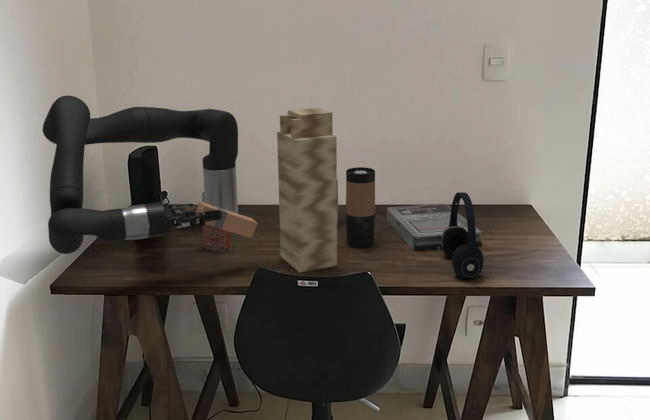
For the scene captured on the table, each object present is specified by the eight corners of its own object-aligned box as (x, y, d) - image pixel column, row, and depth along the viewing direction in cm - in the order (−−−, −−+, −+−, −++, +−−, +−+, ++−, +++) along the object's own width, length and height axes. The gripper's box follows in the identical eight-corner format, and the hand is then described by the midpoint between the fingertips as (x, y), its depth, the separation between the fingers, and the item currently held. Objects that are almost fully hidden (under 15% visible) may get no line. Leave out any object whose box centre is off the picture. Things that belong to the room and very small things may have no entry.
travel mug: (378, 241, 189) (379, 168, 183) (368, 250, 182) (369, 175, 177) (352, 237, 192) (352, 166, 186) (341, 246, 186) (341, 172, 180)
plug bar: (198, 221, 161) (204, 205, 160) (193, 217, 164) (199, 200, 164) (251, 238, 168) (257, 222, 167) (245, 233, 171) (252, 218, 171)
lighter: (234, 248, 185) (232, 212, 182) (228, 253, 181) (226, 216, 179) (207, 245, 187) (204, 209, 184) (200, 249, 184) (198, 213, 181)
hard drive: (414, 253, 181) (414, 236, 180) (385, 221, 207) (386, 207, 205) (481, 247, 185) (482, 231, 183) (445, 217, 210) (446, 203, 209)
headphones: (438, 252, 180) (441, 183, 175) (465, 252, 180) (468, 183, 175) (455, 283, 161) (458, 206, 156) (485, 282, 161) (489, 206, 156)
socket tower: (299, 272, 168) (296, 117, 157) (280, 256, 178) (276, 109, 168) (337, 265, 172) (336, 113, 161) (316, 250, 183) (314, 106, 172)
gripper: (138, 228, 165) (210, 219, 172) (151, 246, 152) (227, 235, 159) (136, 197, 162) (208, 189, 169) (149, 213, 150) (226, 203, 157)
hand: (217, 211), depth 164 cm, fingers closed on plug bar, 4 cm apart
